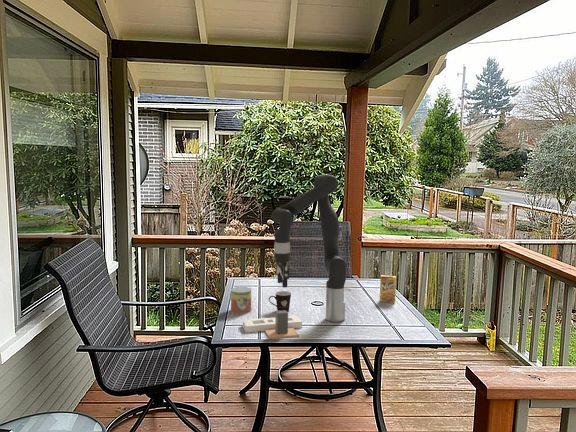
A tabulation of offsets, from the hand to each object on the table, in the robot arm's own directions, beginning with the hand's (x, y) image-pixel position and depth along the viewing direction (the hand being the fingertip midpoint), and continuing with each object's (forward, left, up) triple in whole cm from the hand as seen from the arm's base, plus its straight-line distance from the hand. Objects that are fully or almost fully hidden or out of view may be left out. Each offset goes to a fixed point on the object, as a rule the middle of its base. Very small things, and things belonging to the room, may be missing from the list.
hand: (282, 284), depth 213 cm
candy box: (-73, -33, -23) cm, 83 cm away
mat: (+1, +3, -23) cm, 23 cm away
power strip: (+3, -8, -23) cm, 24 cm away
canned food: (+14, -36, -23) cm, 45 cm away
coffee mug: (-7, -31, -23) cm, 39 cm away
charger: (+1, +3, -22) cm, 22 cm away
